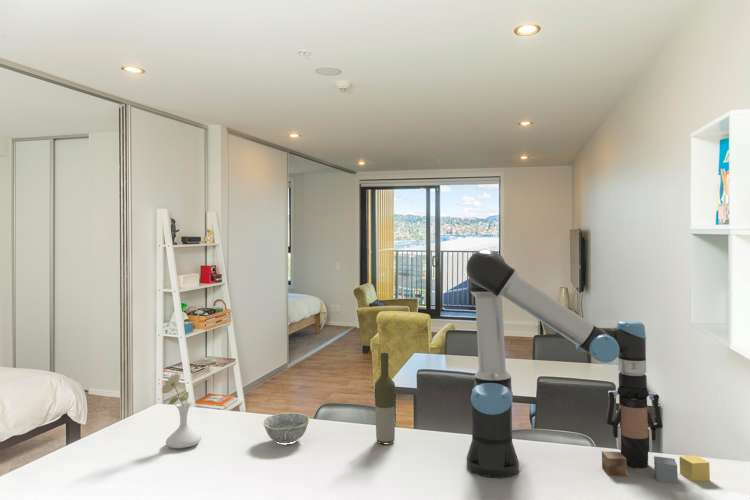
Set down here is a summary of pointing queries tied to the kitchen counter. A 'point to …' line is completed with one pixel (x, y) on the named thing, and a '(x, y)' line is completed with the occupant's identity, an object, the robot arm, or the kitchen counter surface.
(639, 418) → the travel mug
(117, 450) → the kitchen counter surface
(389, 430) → the bottle
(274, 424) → the bowl
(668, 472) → the slate grey cube
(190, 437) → the flower in vase
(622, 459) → the walnut cube
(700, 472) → the mustard cube
